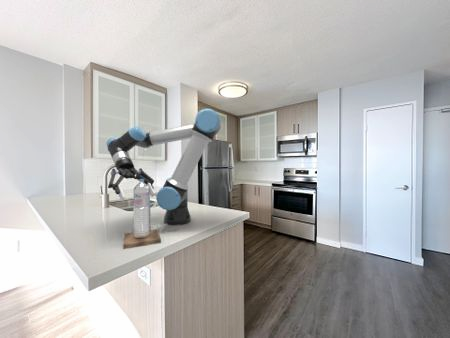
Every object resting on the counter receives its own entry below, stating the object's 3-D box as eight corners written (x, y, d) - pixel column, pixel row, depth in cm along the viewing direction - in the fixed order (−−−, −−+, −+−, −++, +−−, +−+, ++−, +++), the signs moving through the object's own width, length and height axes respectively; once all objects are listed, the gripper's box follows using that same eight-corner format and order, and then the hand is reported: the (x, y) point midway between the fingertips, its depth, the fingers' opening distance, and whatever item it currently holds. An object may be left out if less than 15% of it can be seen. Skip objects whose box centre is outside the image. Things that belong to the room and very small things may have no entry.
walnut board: (156, 232, 93) (156, 229, 93) (160, 242, 81) (160, 239, 81) (124, 236, 87) (124, 233, 87) (123, 248, 75) (123, 245, 75)
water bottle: (153, 235, 84) (153, 179, 84) (137, 240, 79) (137, 180, 79) (146, 232, 89) (145, 178, 88) (130, 236, 84) (130, 179, 83)
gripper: (144, 168, 105) (160, 198, 96) (91, 168, 85) (105, 207, 76) (150, 158, 101) (167, 188, 92) (95, 156, 82) (110, 195, 73)
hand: (139, 197), depth 84 cm, fingers open, 13 cm apart
